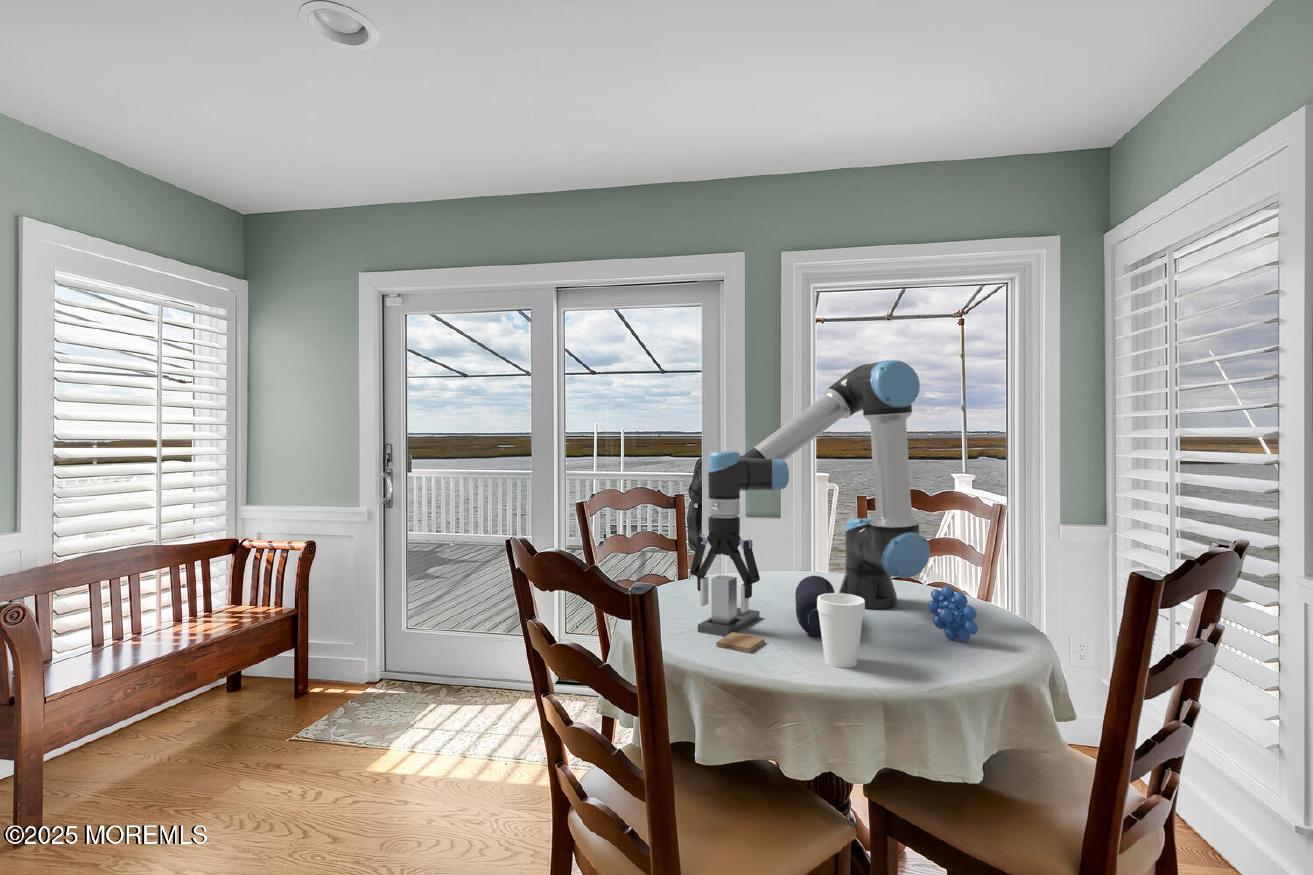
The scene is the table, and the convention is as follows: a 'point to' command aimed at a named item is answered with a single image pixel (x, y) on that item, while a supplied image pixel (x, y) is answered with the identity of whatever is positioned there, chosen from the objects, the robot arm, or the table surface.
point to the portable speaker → (810, 602)
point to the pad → (741, 642)
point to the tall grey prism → (724, 600)
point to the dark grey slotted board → (724, 630)
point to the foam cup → (840, 627)
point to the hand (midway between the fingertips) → (724, 607)
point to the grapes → (953, 614)
